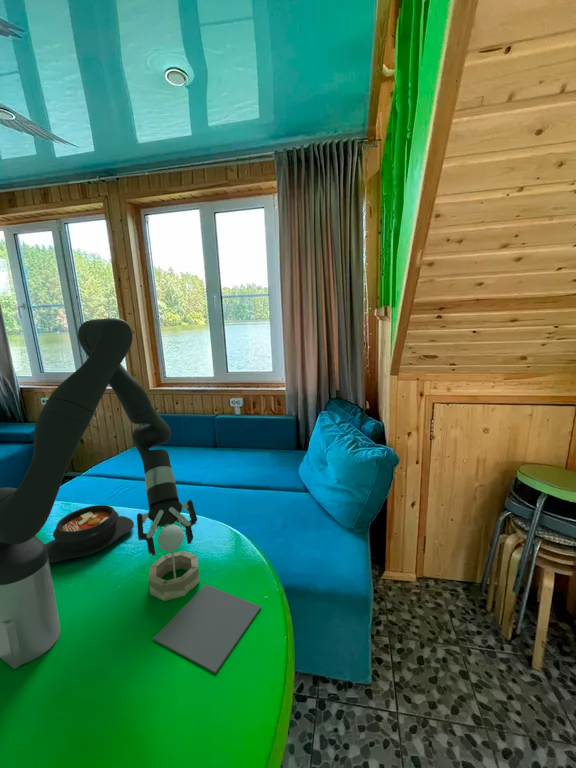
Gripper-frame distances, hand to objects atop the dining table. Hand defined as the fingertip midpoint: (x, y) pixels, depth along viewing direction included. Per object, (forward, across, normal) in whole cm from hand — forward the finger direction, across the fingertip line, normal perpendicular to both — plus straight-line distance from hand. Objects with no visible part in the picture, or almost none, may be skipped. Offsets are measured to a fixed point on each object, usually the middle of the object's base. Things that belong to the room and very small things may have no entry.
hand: (172, 548), depth 82 cm
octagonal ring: (+6, 0, +6) cm, 9 cm away
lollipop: (+6, 0, +7) cm, 9 cm away
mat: (+18, +4, -5) cm, 19 cm away
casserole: (-15, -20, +28) cm, 37 cm away
